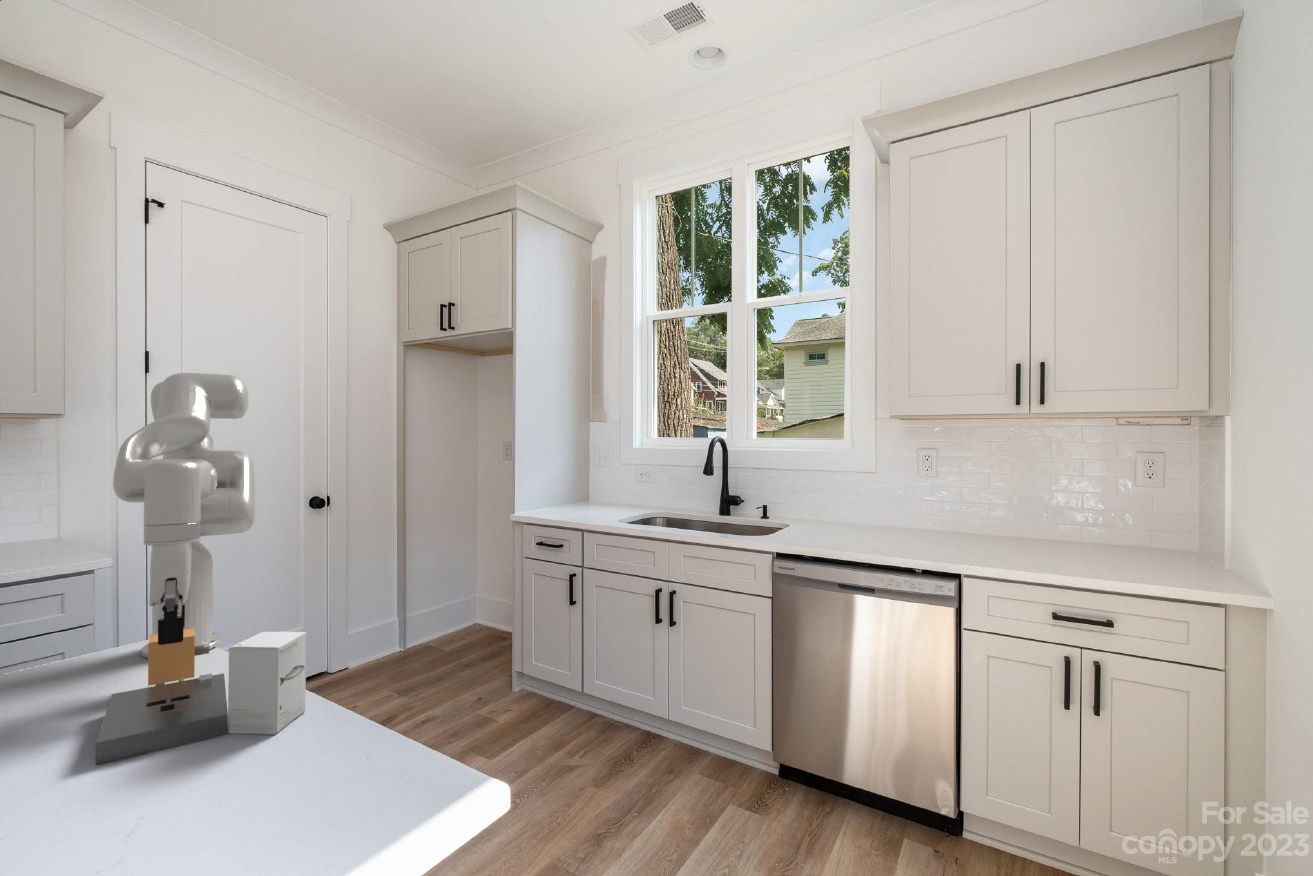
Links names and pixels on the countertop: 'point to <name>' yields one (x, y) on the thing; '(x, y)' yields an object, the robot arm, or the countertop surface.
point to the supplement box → (266, 682)
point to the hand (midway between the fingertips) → (171, 636)
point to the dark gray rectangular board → (162, 718)
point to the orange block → (173, 658)
